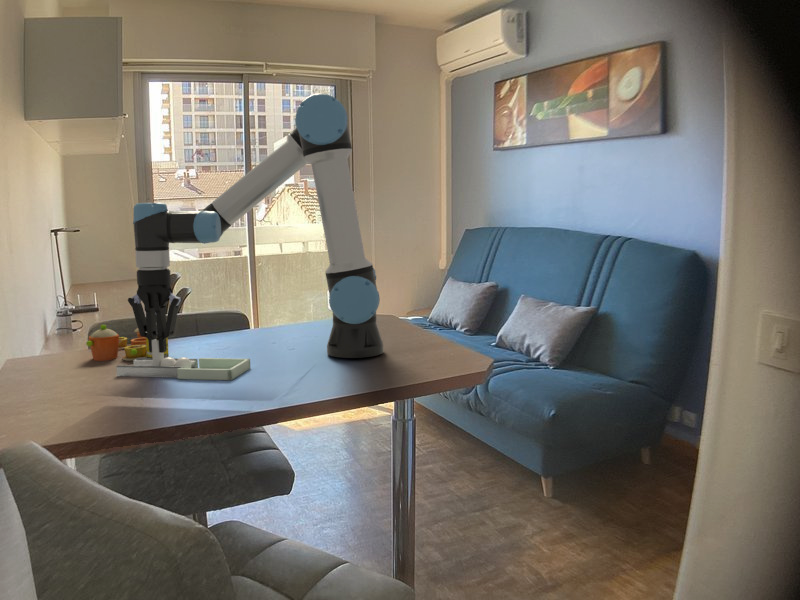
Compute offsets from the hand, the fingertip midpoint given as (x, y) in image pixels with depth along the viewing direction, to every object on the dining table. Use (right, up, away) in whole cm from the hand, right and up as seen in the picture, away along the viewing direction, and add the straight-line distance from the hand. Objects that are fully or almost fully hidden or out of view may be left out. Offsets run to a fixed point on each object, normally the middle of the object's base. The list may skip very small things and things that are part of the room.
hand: (158, 365), depth 153 cm
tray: (+14, -2, -2) cm, 14 cm away
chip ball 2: (+4, +1, -1) cm, 5 cm away
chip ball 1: (+1, -1, 0) cm, 2 cm away
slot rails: (0, -2, 0) cm, 2 cm away
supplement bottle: (-6, 0, +15) cm, 16 cm away
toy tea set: (-18, 0, +24) cm, 30 cm away
